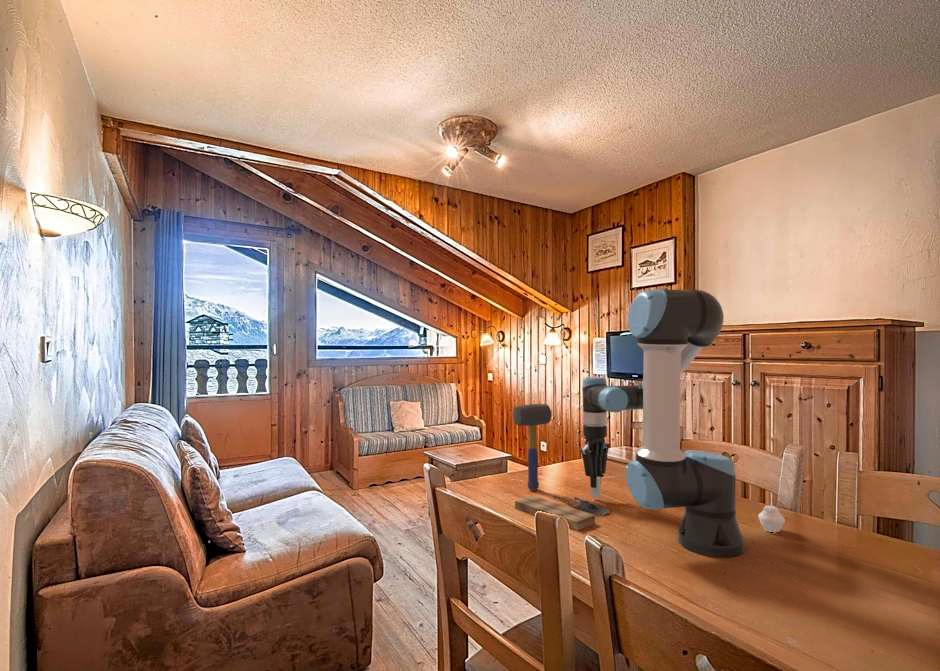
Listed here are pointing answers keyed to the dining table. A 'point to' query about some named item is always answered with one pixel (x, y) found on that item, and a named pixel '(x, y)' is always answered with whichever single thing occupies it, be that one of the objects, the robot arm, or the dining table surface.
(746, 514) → the dining table surface
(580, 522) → the floorboard
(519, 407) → the rubber mallet
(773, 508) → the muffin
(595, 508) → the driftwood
